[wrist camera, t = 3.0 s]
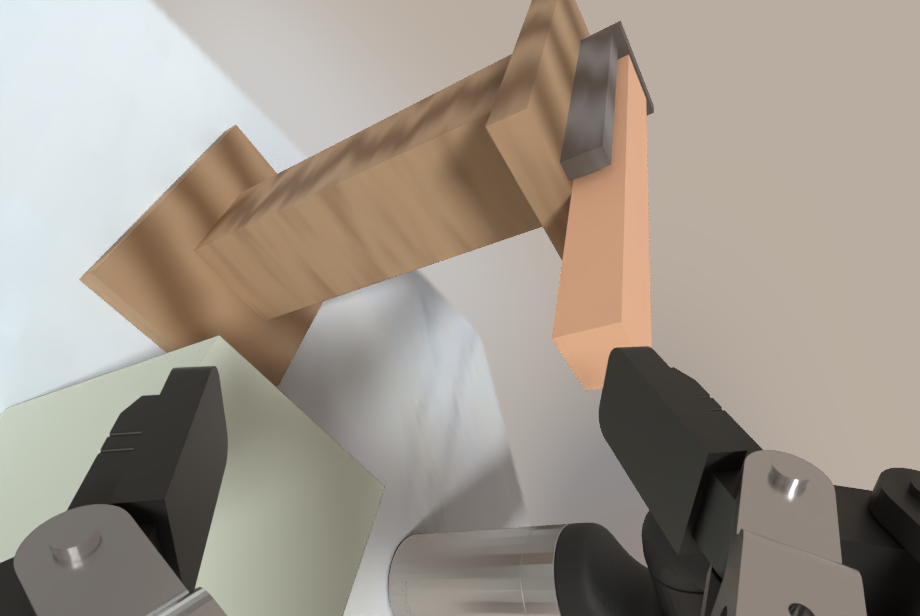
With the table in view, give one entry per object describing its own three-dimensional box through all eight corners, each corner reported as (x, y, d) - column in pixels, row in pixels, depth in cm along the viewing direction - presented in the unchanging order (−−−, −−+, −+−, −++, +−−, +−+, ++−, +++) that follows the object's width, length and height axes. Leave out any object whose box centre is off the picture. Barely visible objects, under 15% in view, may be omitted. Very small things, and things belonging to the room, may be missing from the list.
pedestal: (6, 408, 34) (219, 335, 25) (167, 512, 40) (385, 486, 31) (-155, 585, 27) (55, 577, 18) (70, 678, 33) (312, 708, 24)
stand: (225, 131, 53) (591, -89, 36) (335, 261, 62) (674, 132, 45) (79, 279, 39) (563, 35, 22) (248, 420, 48) (691, 321, 31)
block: (588, 73, 36) (628, 54, 35) (606, 115, 38) (646, 99, 36) (551, 338, 21) (621, 322, 19) (585, 391, 22) (652, 378, 21)
